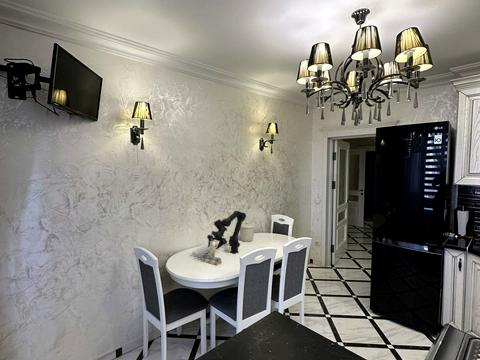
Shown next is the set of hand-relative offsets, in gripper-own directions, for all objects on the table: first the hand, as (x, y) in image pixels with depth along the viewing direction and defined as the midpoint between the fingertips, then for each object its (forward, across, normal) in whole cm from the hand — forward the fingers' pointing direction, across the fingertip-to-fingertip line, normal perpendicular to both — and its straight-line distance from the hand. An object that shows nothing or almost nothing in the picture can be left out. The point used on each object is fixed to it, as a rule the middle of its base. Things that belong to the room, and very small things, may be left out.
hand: (212, 248), depth 220 cm
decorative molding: (-3, -25, +22) cm, 34 cm away
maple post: (+5, 0, +5) cm, 7 cm away
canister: (-42, -13, +60) cm, 74 cm away
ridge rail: (+9, 0, +9) cm, 12 cm away
